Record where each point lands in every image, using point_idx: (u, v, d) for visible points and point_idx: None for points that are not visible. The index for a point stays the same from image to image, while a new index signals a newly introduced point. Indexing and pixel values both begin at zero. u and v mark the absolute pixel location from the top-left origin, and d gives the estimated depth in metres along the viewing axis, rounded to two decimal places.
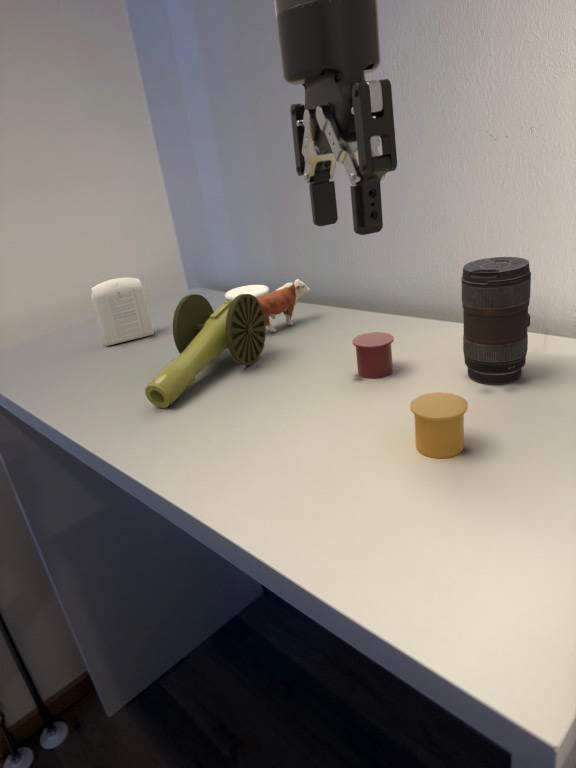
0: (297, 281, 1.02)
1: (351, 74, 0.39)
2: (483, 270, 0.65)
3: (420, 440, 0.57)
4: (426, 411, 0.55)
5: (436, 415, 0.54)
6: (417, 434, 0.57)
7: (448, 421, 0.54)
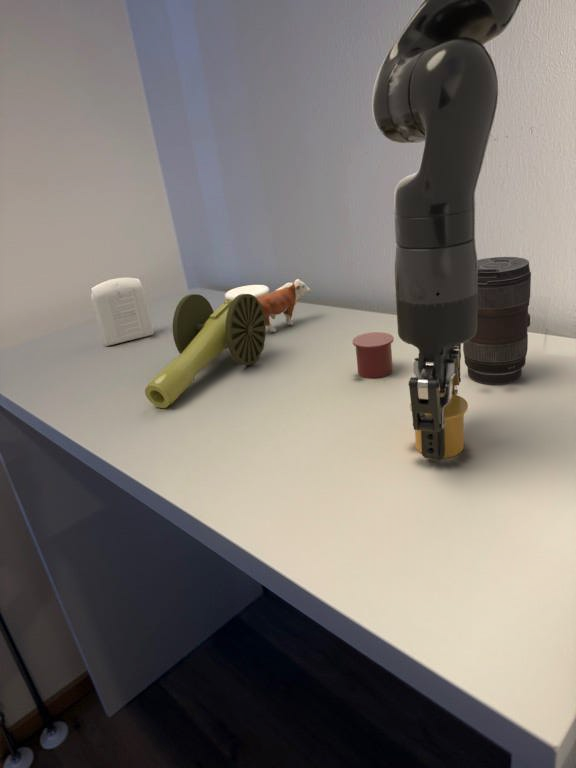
0: (297, 281, 1.02)
1: (426, 352, 0.50)
2: (483, 270, 0.65)
3: (420, 440, 0.57)
4: None
5: None
6: (417, 434, 0.57)
7: (447, 421, 0.54)
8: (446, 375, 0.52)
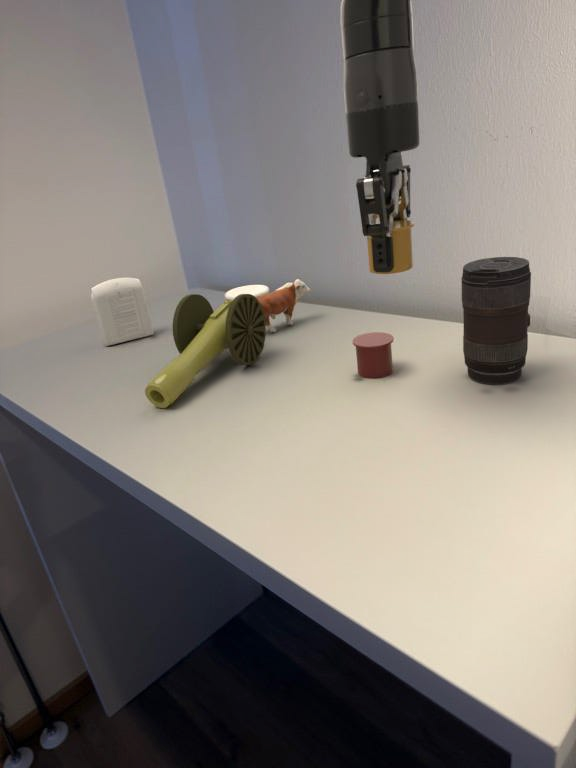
0: (297, 281, 1.02)
1: (372, 159, 0.56)
2: (483, 270, 0.65)
3: (372, 259, 0.62)
4: None
5: None
6: (369, 255, 0.62)
7: (395, 234, 0.60)
8: (392, 185, 0.57)
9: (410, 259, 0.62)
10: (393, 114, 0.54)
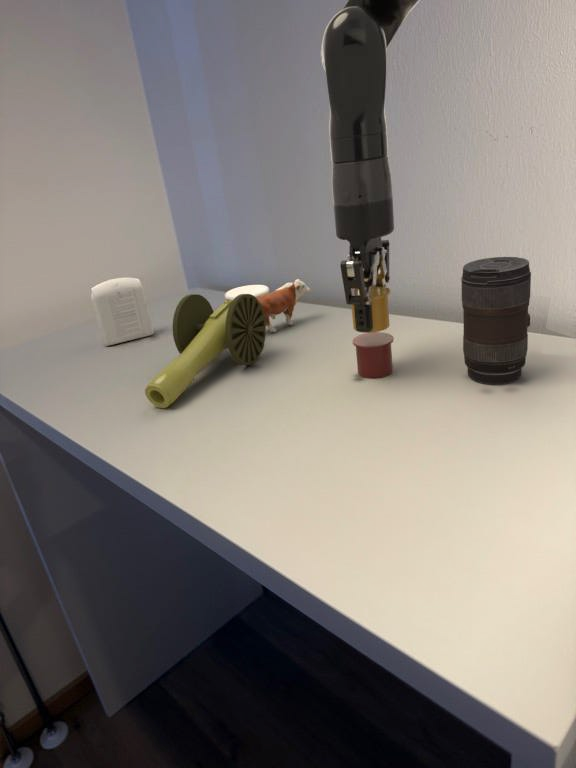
0: (297, 281, 1.02)
1: (354, 243, 0.68)
2: (483, 270, 0.65)
3: None
4: None
5: None
6: (353, 316, 0.75)
7: (374, 301, 0.72)
8: (371, 263, 0.70)
9: (387, 320, 0.74)
10: (371, 209, 0.66)
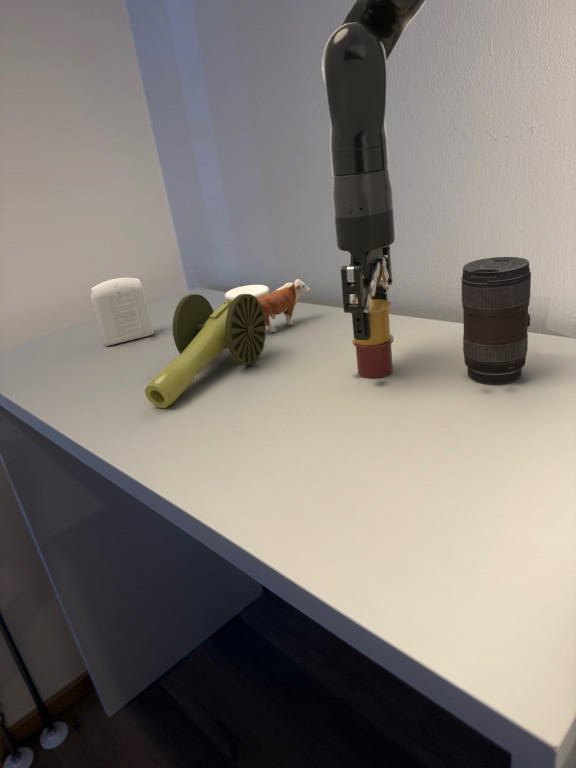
0: (297, 281, 1.02)
1: (355, 255, 0.69)
2: (483, 270, 0.65)
3: None
4: None
5: None
6: None
7: (375, 315, 0.73)
8: (371, 272, 0.70)
9: (387, 333, 0.75)
10: (371, 221, 0.67)
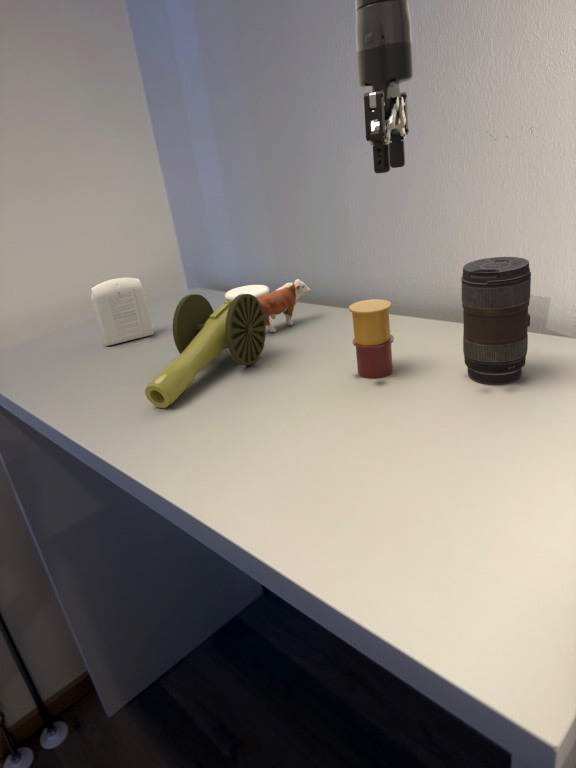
0: (297, 281, 1.02)
1: (377, 85, 0.74)
2: (483, 270, 0.65)
3: (356, 332, 0.75)
4: (359, 309, 0.74)
5: (366, 310, 0.73)
6: (354, 329, 0.75)
7: (375, 315, 0.73)
8: (391, 105, 0.76)
9: (387, 333, 0.75)
10: (392, 50, 0.72)
